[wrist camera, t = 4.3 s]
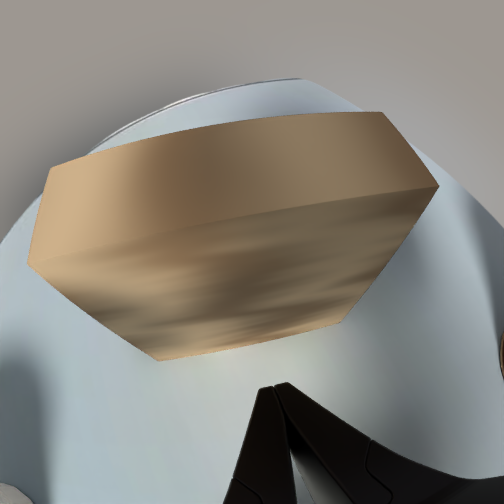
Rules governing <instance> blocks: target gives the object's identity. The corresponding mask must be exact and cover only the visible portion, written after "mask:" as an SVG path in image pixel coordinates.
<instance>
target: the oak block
mask: <svg viewBox="0 0 504 504" xmlns="http://www.w3.org/2000/svg"><path fill="white" fill-rule="evenodd" d="M438 188H439V185H438V183H437V182H436V180H435V179H434V177H433V176H432V174H431V173H430V172H429V170H428V169H427V167H426V166H425V165H424V163H423V162H422V161H421V159H420V158H419V157H418V155H417V154H416V153H415V151H414V150H413V149H412V147H411V146H410V145H409V144H408V142H407V141H406V140H405V139H404V137H403V136H402V135H401V134H400V132H399V131H398V130H397V129H396V128H395V127H394V125H393V124H392V123H391V122H390V121H389V119H388V118H387V117H386V116H385V115H384V114H383V113H382V112H334V113H314V114H299V115H287V116H277V117H267V118H259V119H251V120H243V121H236V122H229V123H223V124H217V125H211V126H205V127H199V128H194V129H189V130H184V131H179V132H174V133H169V134H165V135H160V136H156V137H152V138H148V139H144V140H140V141H136V142H132V143H128V144H124V145H121V146H117V147H114V148H110V149H107V150H103V151H100V152H97V153H93V154H90V155H87V156H84V157H81V158H78V159H75V160H72V161H69V162H66V163H63V164H60V165H58V166H55V167H52V168H51V170H50V172H49V175H48V178H47V182H46V185H45V188H44V192H43V195H42V199H41V202H40V206H39V210H38V214H37V218H36V222H35V226H34V230H33V235H32V240H31V245H30V250H29V255H28V261H27V265H28V266H30V267H31V268H32V269H33V270H34V271H35V272H36V273H37V274H39V275H40V276H41V277H42V278H43V279H44V280H46V281H47V282H48V283H49V284H50V285H52V286H53V287H54V288H55V289H56V290H58V291H59V292H60V293H61V294H63V295H64V296H65V297H66V298H68V299H69V300H70V301H71V302H73V303H74V304H75V305H77V306H78V307H79V308H80V309H82V310H83V311H84V312H86V313H87V314H88V315H90V316H91V317H93V318H94V319H95V320H97V321H98V322H99V323H101V324H102V325H104V326H105V327H107V328H108V329H109V330H111V331H112V332H114V333H115V334H117V335H118V336H120V337H121V338H123V339H124V340H126V341H127V342H129V343H130V344H132V345H133V346H135V347H136V348H138V349H140V350H141V351H143V352H144V353H146V354H148V355H149V356H151V357H152V358H154V359H156V360H157V361H164V360H171V359H177V358H184V357H190V356H196V355H201V354H207V353H212V352H218V351H223V350H228V349H233V348H238V347H243V346H248V345H252V344H257V343H261V342H266V341H270V340H275V339H279V338H283V337H287V336H291V335H295V334H299V333H303V332H307V331H311V330H315V329H319V328H322V327H326V326H330V325H333V324H337V323H340V322H341V321H342V319H343V318H344V317H345V316H346V315H347V314H348V312H349V311H350V310H351V309H352V308H353V306H354V305H355V304H356V303H357V301H358V300H359V299H360V298H361V297H362V295H363V294H364V293H365V292H366V290H367V289H368V288H369V286H370V285H371V284H372V283H373V281H374V280H375V279H376V278H377V276H378V275H379V274H380V272H381V271H382V270H383V268H384V267H385V266H386V264H387V263H388V262H389V260H390V259H391V258H392V256H393V255H394V253H395V252H396V251H397V249H398V248H399V247H400V245H401V244H402V242H403V241H404V239H405V238H406V237H407V235H408V234H409V232H410V231H411V229H412V228H413V226H414V225H415V223H416V222H417V221H418V219H419V218H420V216H421V214H422V213H423V211H424V210H425V208H426V207H427V205H428V204H429V202H430V201H431V199H432V197H433V196H434V194H435V193H436V191H437V189H438Z"/></svg>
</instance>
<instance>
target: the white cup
mask: <svg viewBox="0 0 504 504" xmlns="http://www.w3.org/2000/svg"><path fill="white" fill-rule="evenodd" d="M0 504H33V503H32V501H31V500H30V499H29V498H28V497H27V496H26V495H24V494H23V493H22V492H21V491H19V490H18V489H17V488H16V487H14V486H10V485H7V484H4V483H0Z"/></svg>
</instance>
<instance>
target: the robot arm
mask: <svg viewBox="0 0 504 504" xmlns="http://www.w3.org/2000/svg"><path fill="white" fill-rule="evenodd" d="M290 452H291V454H290ZM291 455H292V457H293V460H294V462H295V464H296V466H297V468H298V470H299V472H300V474H301V476H302V478H303V480H304V482H305V484H306V486H307V489H308V491H309V493H310V495H311V497H312V499H313V501H314V503H315V504H504V476H499V477H492V478H485V479H465V478H460V477H456V476H453V475H450V474H447V473H444V472H441V471H438V470H436V469H433V468H430V467H427V466H425V465H422V464H420V463H417V462H415V461H412V460H410V459H408V458H406V457H403V456H401V455H399V454H397V453H395V452H393V451H392V450H390V449H388V448H386V447H384V446H383V445H381V444H379V443H378V442H376V441H375V440H371V438H369V437H368V436H366V435H365V434H363V433H362V432H360V431H358V430H357V429H355V428H354V427H352V426H351V425H349V424H348V423H346V422H345V421H343V420H342V419H340V418H339V417H337V416H336V415H334V414H333V413H331V412H330V411H328V410H327V409H325V408H324V407H322V406H321V405H320V404H318V403H317V402H315V401H314V400H312V399H311V398H310V397H308V396H307V395H305V394H304V393H303V392H301V391H300V390H298V389H297V388H296V387H294V386H293V385H291V384H290V383H288V382H285V383H281V384H277V385H275V386H274V387H273V386H268V387H264V388H260V389H259V390H258V393H257V397H256V400H255V404H254V407H253V411H252V414H251V418H250V421H249V424H248V428H247V431H246V434H245V438H244V441H243V444H242V448H241V451H240V454H239V457H238V461H237V464H236V467H235V470H234V473H233V478H232V479H231V482H230V485H229V488H228V491H227V494H226V496H225V499H224V502H223V504H297V497H296V490H295V482H294V475H293V468H292V461H291Z"/></svg>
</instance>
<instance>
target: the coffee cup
mask: <svg viewBox="0 0 504 504" xmlns="http://www.w3.org/2000/svg"><path fill="white" fill-rule="evenodd" d="M500 361H501V368H502V373H503V376H504V332H503V335H502V340H501V350H500Z"/></svg>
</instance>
